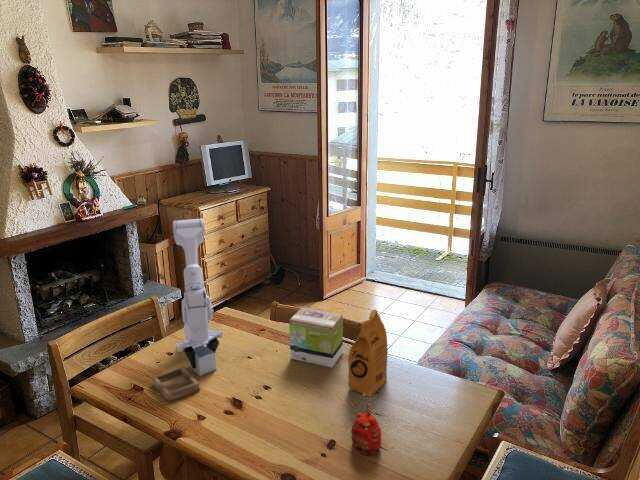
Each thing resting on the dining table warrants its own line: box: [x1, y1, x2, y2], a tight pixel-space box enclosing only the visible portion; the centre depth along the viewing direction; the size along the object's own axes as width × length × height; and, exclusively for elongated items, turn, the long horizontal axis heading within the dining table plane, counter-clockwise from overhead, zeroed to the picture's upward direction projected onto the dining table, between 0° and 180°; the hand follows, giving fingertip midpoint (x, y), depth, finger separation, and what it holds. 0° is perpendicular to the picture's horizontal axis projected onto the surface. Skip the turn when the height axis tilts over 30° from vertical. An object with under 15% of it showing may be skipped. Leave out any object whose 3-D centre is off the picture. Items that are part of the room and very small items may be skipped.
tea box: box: [288, 307, 344, 369], centre depth 168 cm, size 15×10×15 cm, turn 68°
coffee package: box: [347, 308, 389, 397], centre depth 152 cm, size 10×12×22 cm
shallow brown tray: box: [152, 366, 201, 404], centre depth 155 cm, size 12×10×2 cm
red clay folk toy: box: [350, 389, 382, 456], centre depth 127 cm, size 8×7×15 cm
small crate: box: [188, 345, 217, 377], centre depth 165 cm, size 8×6×6 cm
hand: (202, 363), depth 165 cm, fingers closed on small crate, 5 cm apart
